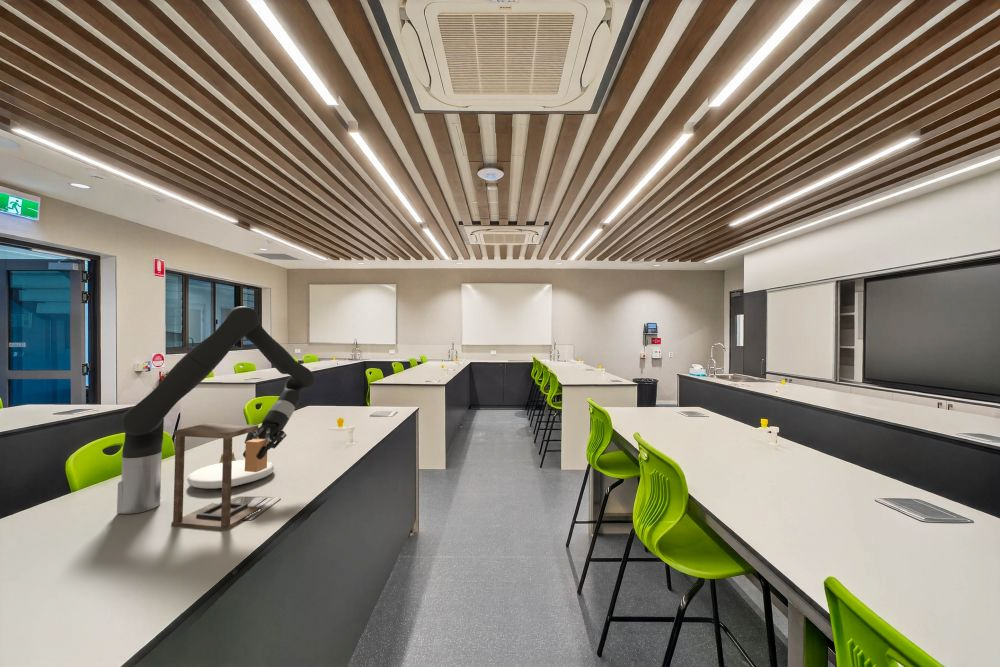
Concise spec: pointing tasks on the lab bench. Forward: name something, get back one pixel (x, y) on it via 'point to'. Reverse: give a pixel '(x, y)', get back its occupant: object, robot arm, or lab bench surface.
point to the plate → (213, 475)
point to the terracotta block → (254, 455)
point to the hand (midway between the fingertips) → (252, 457)
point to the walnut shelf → (225, 511)
